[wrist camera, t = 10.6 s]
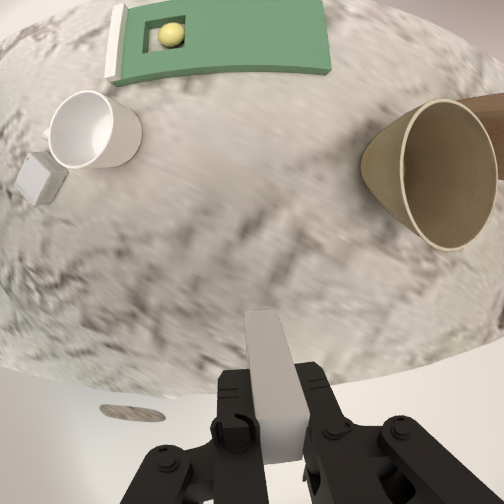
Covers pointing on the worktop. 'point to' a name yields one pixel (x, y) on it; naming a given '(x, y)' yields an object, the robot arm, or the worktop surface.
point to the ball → (171, 34)
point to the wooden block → (491, 122)
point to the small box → (40, 178)
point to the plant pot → (435, 173)
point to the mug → (93, 132)
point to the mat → (219, 39)
